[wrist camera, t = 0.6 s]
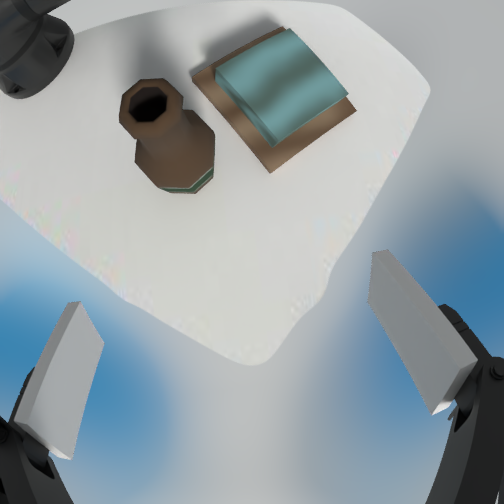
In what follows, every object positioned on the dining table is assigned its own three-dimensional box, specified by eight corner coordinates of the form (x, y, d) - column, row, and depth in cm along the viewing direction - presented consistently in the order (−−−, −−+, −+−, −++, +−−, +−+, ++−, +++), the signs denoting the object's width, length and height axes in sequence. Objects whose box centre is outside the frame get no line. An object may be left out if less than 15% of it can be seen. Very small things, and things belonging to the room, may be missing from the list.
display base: (192, 81, 35) (190, 63, 30) (280, 31, 35) (288, 12, 30) (269, 173, 38) (279, 168, 33) (352, 113, 38) (369, 102, 33)
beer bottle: (147, 182, 36) (58, 146, 13) (173, 129, 36) (126, 31, 12) (200, 206, 38) (179, 199, 14) (226, 152, 37) (246, 70, 14)
